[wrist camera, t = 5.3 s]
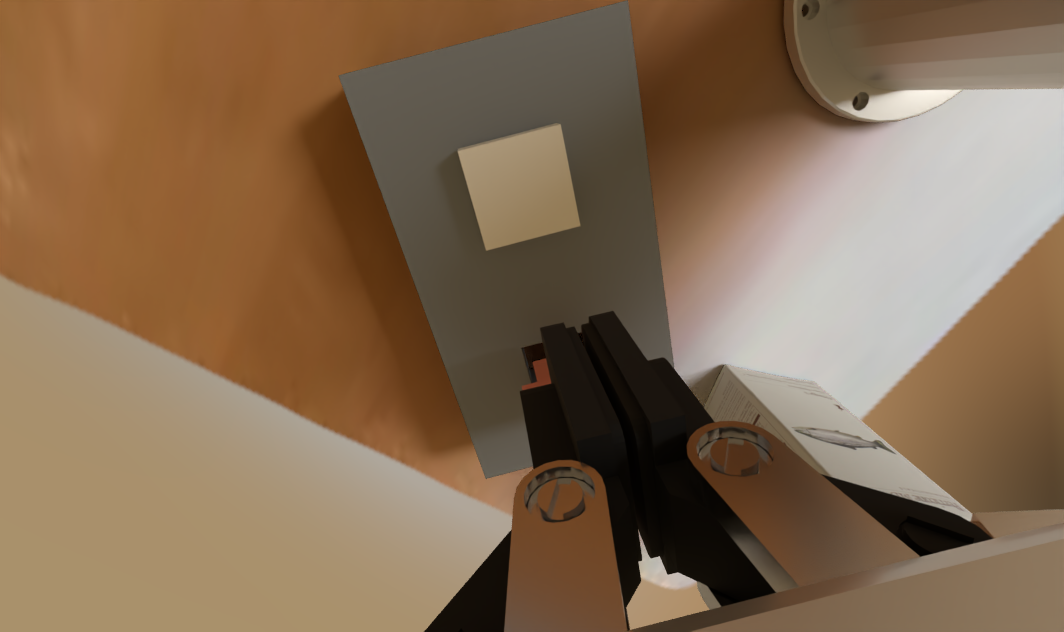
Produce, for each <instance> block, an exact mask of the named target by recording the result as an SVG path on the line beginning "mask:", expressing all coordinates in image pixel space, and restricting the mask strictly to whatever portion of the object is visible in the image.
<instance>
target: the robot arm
mask: <svg viewBox="0 0 1064 632" xmlns="http://www.w3.org/2000/svg"><path fill="white" fill-rule="evenodd" d="M802 8H803V14H802ZM784 30H785V37H786V45H787V50H788V53H789V56H790V59H791V62H792V65H793V68H794V71H795V73H796V75H797V76H798V78H799V80H800V81H801V83H802V85H803V87H804V88H805V90H806V91H807V92H808V93H809V94H810V95H811V96H812V97H813V98H814V99H815V100H816V101H817V102H818V104H819V105H821V106H823V107H824V108H826V109H827V110H829V111H831V112H832V113H834V114H836V115H838V116H841V117H845V118H848V119H851V120H854V121H866V122H895V121H900V120H904V119H908V118H912V117H915V116H919V115H921V114H923V113H925V112H928V111H930V110H932V109H934V108H936V107H938V106H940V105H942V104H943V103H945V102H946V101H948V100H949V99H951V98H952V97H954V96H955V95H957V94H958V93H960V92H961V91H963V90H975V89H1064V0H784ZM588 319H589V323H586V324H582V325H581V331H582V337H583V342H584V346H583V344H582V341H581V339H580V337H579V335H578V333H577V331H576V329H575V327H574V326H573V327H569V328H566V327H565V324H564V322H563V323H558V324H554V325H550V326H545V327H541V328H540V332H541V337H542V342H543V347H544V351H545V356H546V361H547V365H548V370H549V375H550V380H551V384H547V385H543V386H538V387H534V388H530V389H526V390H521V391H520V397H521V402H522V408H523V413H524V419H525V424H526V430H527V435H528V441H529V446H530V452H531V457H532V463H533V468H534V469H533V470H532V471H531V472H530V473H528V474H527V475H526V476H525V477H524V478H523V479H522V481H521V482H520V484H519V485H518V487H517V489H516V493H515V497H514V505H513V519H512V530H511V531H510V532H509V533H508V534H507V535H506V537H505V538H504V539H503V540H502V541H501V542H500V544H499V545H498V546H497V547H496V548H495V550H494V551H493V552H492V553H491V554H490V555H489V557H488V558H487V559H486V560H485V561H484V562H483V564H482V565H481V566H480V567H479V568H478V569H477V571H476V572H475V573H474V574H473V575H472V577H471V578H470V579H469V580H468V581H467V582H466V583H465V585H464V586H463V587H462V588H461V589H460V590H459V592H458V593H457V594H456V595H455V596H454V597H453V599H452V600H451V601H450V602H449V603H448V605H447V606H446V607H445V608H444V609H443V610H442V611H441V613H440V614H439V615H438V616H437V617H436V618H435V620H434V621H433V622H432V623H431V624H430V626H429V627H428V628H427V629H426V630H425V631H424V632H1064V509H1059V510H1035V511H1034V510H1033V511H1009V512H983V513H973V514H972V518H971V521H968V520H966V519H964V518H963V517H961V516H959V515H956V514H954V513H951V512H948V511H946V510H943V509H941V508H938V507H934V506H931V505H927V504H924V503H920V502H917V501H913V500H910V499H906V498H903V497H899V496H896V495H892V494H889V493H885V492H882V491H878V490H875V489H871V488H868V487H865V486H861V485H858V484H854V483H851V482H847V481H844V480H840V479H837V478H833V477H830V476H826V475H823V474H820V473H819V472H818V471H816V470H815V469H814V468H813V467H811V466H810V465H809V464H808V463H807V462H805V461H804V460H803V459H802V458H801V457H799V456H798V455H797V454H796V453H795V452H793V451H792V450H791V449H790V448H789V447H787V446H786V445H785V444H784V443H782V442H781V441H780V440H779V439H778V438H776V437H775V436H774V435H773V434H771V433H769V432H768V431H766V430H765V429H763V428H761V427H758V426H755V425H753V424H750V423H745V422H739V421H719V422H714V420H713V419H712V418H711V416H710V415H709V414H708V413H707V411H706V410H705V409H704V407H703V406H702V405H701V403H700V402H699V401H698V399H697V398H696V397H695V396H694V394H693V393H692V392H691V390H690V389H689V388H688V386H687V385H686V384H685V382H684V381H683V380H682V379H681V377H680V376H679V375H678V373H677V372H676V371H675V369H674V368H673V367H672V365H671V364H670V363H669V362H668V360H667V359H666V358H663V357H661V358H657V359H653V360H647V359H646V357H645V356H644V355H643V353H642V352H641V350H640V349H639V347H638V346H637V344H636V343H635V342H634V340H633V339H632V337H631V336H630V334H629V333H628V331H627V330H626V328H625V327H624V326H623V324H622V323H621V321H620V320H619V318H618V317H617V315H616V314H615V312H614V311H610V312H605V313H601V314H597V315H593V316H589V318H588ZM638 530H639V532H640V535H641V537H642V540H643V542H644V545H645V547H646V550H647V552H648V555H649V556H650V558H654V557H658V556H660V558H661V560H662V562H663V565H664V567H665V569H666V572H667V574H668V575H669V574H673V573H677V572H679V573H681V574H683V575H685V576H687V577H689V578H692V579H694V580H696V581H697V586H698V590H699V592H700V594H701V596H702V598H703V600H704V602H705V603H706V605H707V606H708V608H709V609H710V610H707V611H703V612H699V613H695V614H691V615H687V616H684V617H680V618H676V619H672V620H668V621H664V622H660V623H656V624H653V625H648V626H644V627H641V628H637V629H633V630H630V627H629V620H628V614H627V609H626V607H627V605H628V603H629V602H630V600H631V598H632V596H633V594H634V593H635V591H636V589H637V587H638V586H639V584H640V582H641V577H640V570H639V563H638V561H642V554H641V547H640V540H639V533H638Z"/></svg>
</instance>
